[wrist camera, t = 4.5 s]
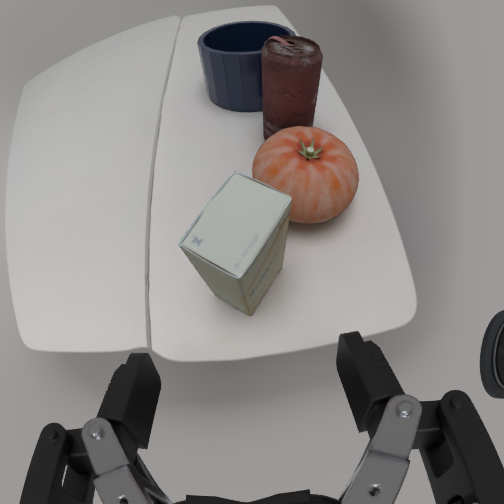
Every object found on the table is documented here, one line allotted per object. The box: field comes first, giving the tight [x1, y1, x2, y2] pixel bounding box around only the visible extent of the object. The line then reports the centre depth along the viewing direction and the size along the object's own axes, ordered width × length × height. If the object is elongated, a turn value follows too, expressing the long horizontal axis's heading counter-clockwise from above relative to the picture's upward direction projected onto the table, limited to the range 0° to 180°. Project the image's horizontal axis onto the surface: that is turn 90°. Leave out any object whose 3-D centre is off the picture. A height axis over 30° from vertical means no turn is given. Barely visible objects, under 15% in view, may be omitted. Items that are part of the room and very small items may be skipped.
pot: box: [197, 21, 296, 112], centre depth 34 cm, size 14×14×10 cm
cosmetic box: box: [178, 171, 292, 316], centre depth 21 cm, size 6×4×12 cm
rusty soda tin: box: [261, 35, 323, 140], centre depth 27 cm, size 6×6×14 cm
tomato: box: [252, 126, 359, 223], centre depth 27 cm, size 11×11×8 cm
